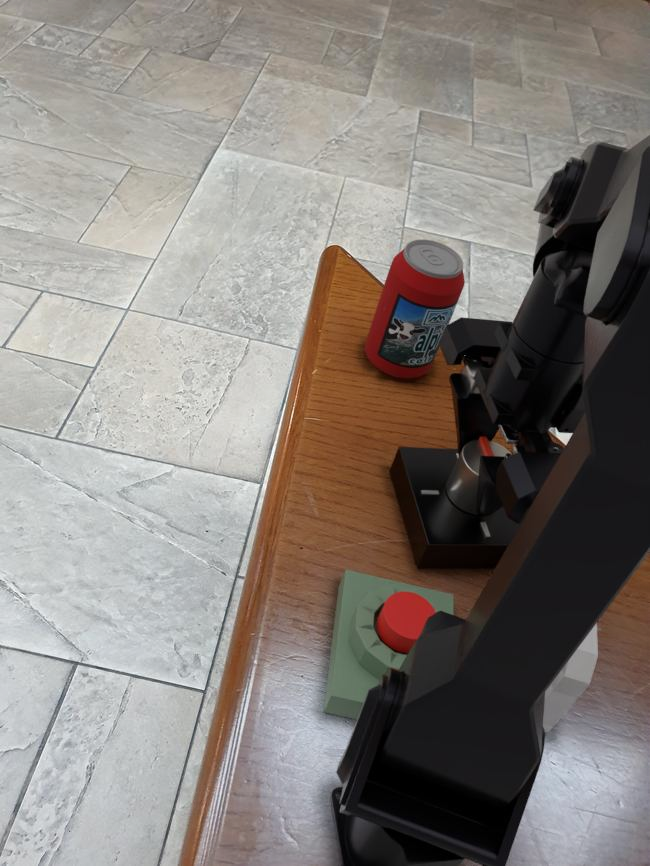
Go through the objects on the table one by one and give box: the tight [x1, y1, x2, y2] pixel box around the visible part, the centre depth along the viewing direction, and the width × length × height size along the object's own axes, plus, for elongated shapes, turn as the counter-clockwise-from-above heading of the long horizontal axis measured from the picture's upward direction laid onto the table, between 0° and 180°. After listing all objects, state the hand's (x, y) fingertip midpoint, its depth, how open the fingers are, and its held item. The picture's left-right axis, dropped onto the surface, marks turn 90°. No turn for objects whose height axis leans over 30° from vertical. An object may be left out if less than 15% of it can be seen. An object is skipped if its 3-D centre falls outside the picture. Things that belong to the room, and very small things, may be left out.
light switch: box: [543, 622, 599, 734], centre depth 59 cm, size 2×12×8 cm, turn 168°
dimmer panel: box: [388, 446, 520, 569], centre depth 69 cm, size 10×10×3 cm
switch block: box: [323, 569, 455, 721], centre depth 57 cm, size 10×8×4 cm
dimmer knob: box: [446, 437, 511, 515], centre depth 66 cm, size 4×4×4 cm
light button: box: [377, 592, 436, 653], centre depth 56 cm, size 4×4×2 cm
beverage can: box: [364, 238, 466, 379], centre depth 79 cm, size 7×7×12 cm
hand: (474, 490), depth 67 cm, fingers closed on dimmer knob, 4 cm apart
